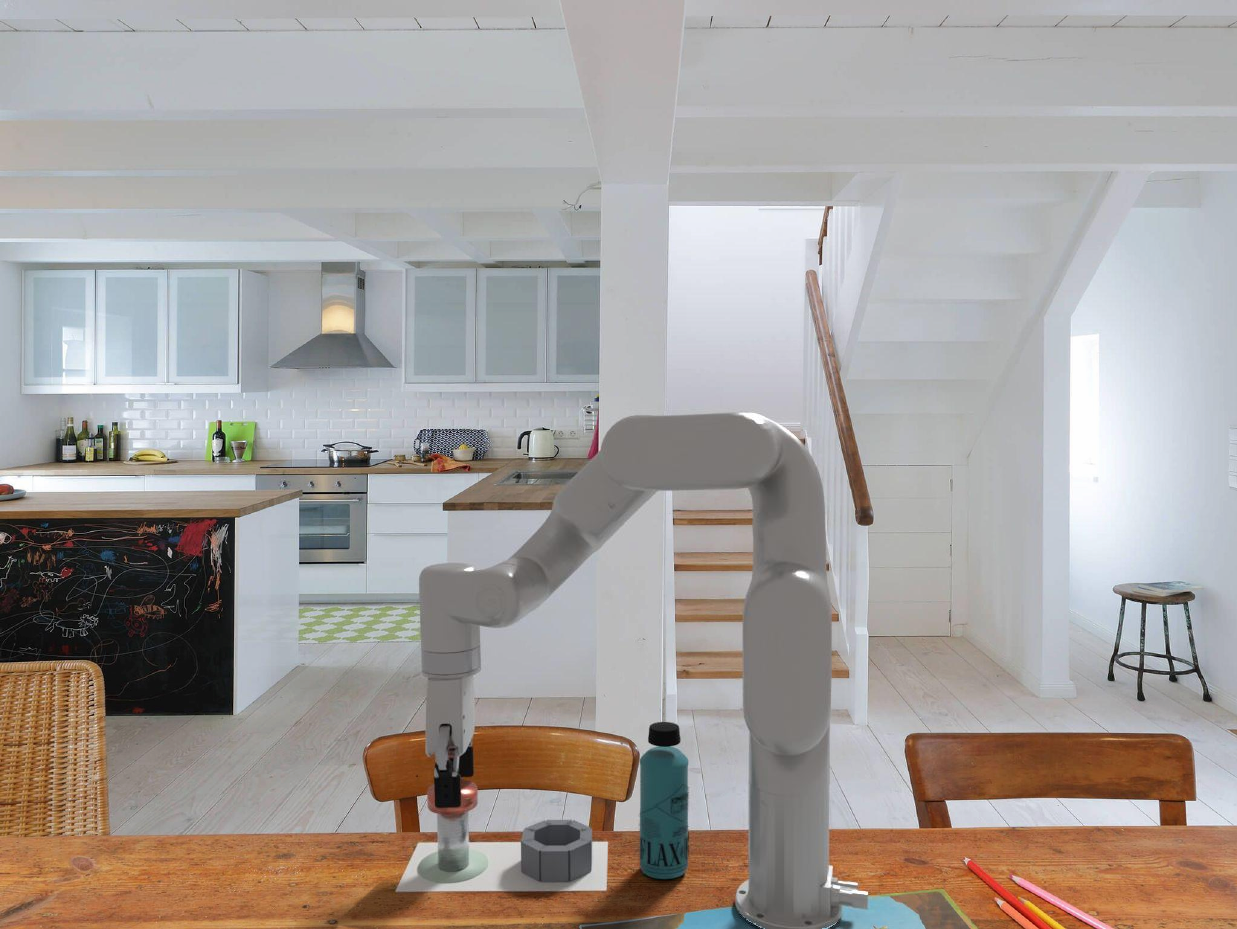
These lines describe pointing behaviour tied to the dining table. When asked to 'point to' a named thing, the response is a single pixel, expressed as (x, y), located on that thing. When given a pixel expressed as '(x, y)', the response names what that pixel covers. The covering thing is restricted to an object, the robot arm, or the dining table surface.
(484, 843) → the board
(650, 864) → the beverage bottle
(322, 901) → the dining table surface
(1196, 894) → the dining table surface
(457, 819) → the copper domed post
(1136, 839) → the dining table surface
